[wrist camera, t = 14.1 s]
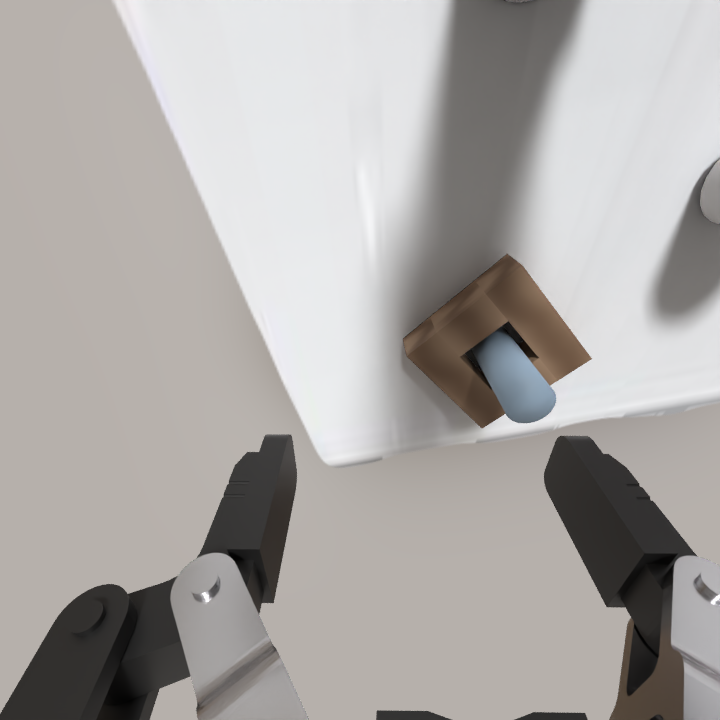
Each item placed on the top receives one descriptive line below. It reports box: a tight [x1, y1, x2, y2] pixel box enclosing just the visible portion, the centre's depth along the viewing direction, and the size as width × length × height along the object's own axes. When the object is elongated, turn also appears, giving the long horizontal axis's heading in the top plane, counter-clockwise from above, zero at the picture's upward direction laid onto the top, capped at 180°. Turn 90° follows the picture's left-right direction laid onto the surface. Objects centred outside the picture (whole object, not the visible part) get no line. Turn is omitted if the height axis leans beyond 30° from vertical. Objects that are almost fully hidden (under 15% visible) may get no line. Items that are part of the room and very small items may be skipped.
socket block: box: [403, 254, 592, 428], centre depth 40 cm, size 14×14×4 cm
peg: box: [471, 326, 556, 423], centre depth 37 cm, size 4×4×12 cm
